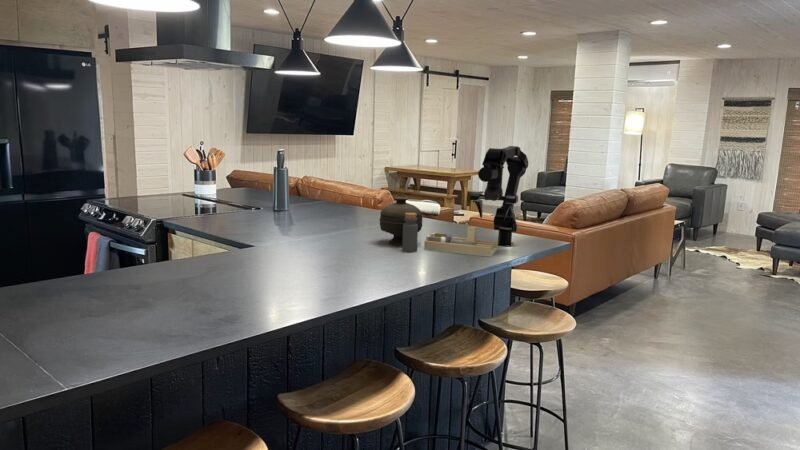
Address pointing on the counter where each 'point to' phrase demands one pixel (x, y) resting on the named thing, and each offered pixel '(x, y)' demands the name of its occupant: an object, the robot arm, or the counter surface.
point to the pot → (398, 219)
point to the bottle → (410, 233)
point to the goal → (435, 237)
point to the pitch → (464, 247)
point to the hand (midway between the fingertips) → (492, 218)
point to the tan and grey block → (470, 237)
